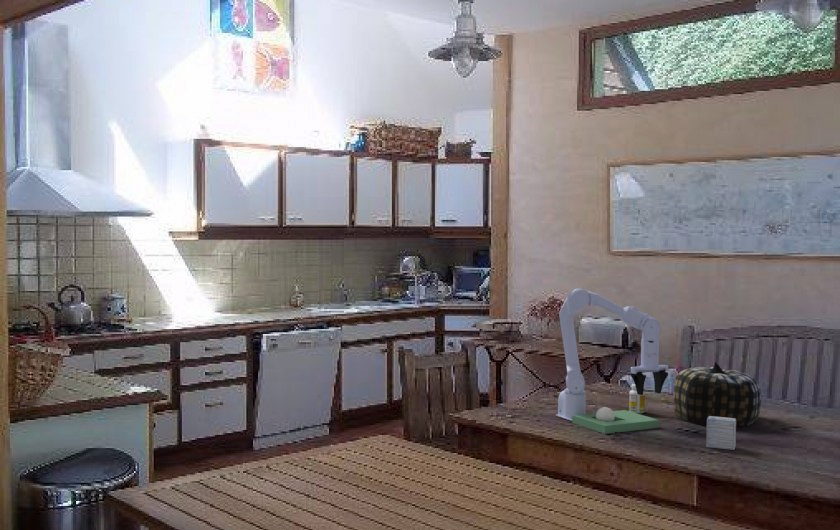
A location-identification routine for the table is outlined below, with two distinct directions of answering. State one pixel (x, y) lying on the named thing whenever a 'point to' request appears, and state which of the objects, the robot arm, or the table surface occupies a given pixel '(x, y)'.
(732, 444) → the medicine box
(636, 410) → the supplement bottle
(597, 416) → the white ball
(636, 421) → the putting board
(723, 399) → the decorative pumpkin
